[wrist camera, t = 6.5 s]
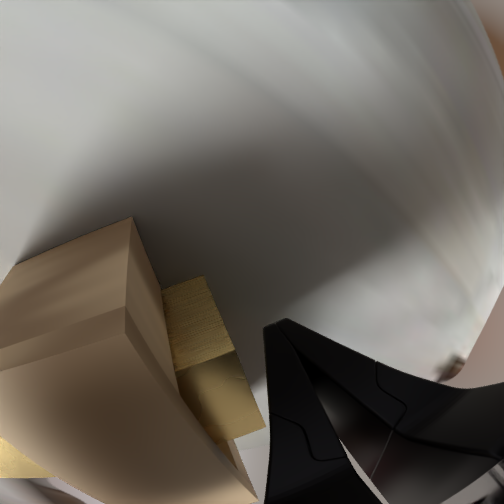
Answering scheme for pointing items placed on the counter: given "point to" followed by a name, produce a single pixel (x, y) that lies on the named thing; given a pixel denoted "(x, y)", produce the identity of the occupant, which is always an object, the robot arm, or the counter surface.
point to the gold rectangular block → (187, 374)
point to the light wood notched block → (104, 379)
